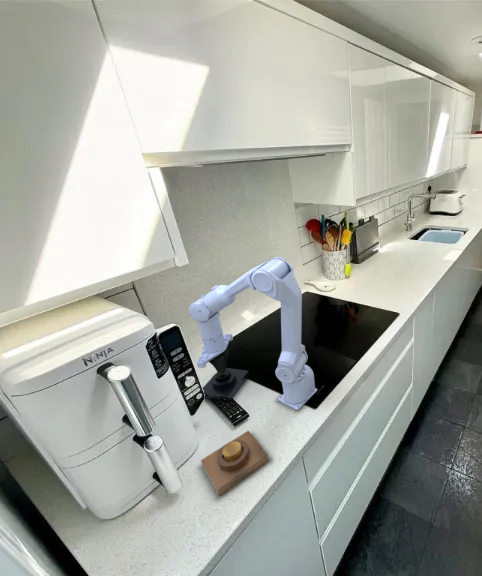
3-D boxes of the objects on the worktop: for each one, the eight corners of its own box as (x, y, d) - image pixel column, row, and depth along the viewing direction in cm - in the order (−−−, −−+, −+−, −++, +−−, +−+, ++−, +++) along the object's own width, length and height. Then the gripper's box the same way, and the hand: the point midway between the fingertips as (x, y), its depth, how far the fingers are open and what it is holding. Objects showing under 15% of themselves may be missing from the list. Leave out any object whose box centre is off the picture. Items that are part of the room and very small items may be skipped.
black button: (221, 372, 100) (220, 368, 99) (232, 374, 99) (231, 370, 98) (213, 381, 96) (212, 377, 96) (225, 383, 96) (224, 378, 95)
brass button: (237, 443, 76) (236, 438, 76) (244, 453, 74) (243, 448, 73) (221, 453, 74) (219, 448, 73) (228, 464, 71) (226, 459, 71)
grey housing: (222, 372, 105) (220, 363, 104) (249, 375, 104) (247, 366, 102) (199, 398, 95) (196, 388, 93) (229, 402, 93) (226, 392, 91)
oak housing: (249, 436, 82) (247, 425, 81) (268, 460, 76) (266, 449, 74) (202, 466, 75) (198, 455, 73) (219, 496, 68) (215, 485, 67)
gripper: (215, 321, 98) (223, 355, 104) (182, 348, 85) (194, 385, 91) (235, 323, 97) (243, 357, 103) (205, 350, 84) (216, 388, 90)
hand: (221, 371), depth 97 cm, fingers closed
